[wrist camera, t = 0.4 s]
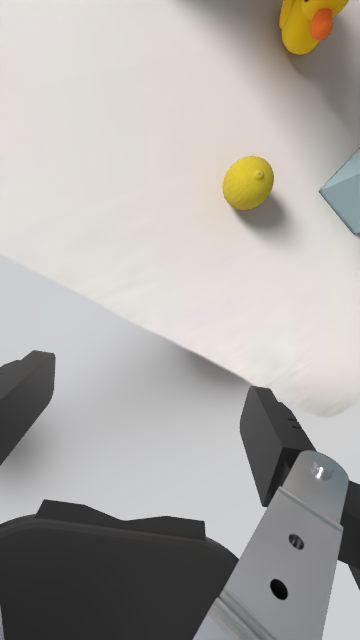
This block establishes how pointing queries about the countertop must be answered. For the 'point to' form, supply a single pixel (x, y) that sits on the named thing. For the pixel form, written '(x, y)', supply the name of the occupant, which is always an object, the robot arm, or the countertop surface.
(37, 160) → the countertop surface
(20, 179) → the countertop surface
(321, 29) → the duckling
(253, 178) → the lemon
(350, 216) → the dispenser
